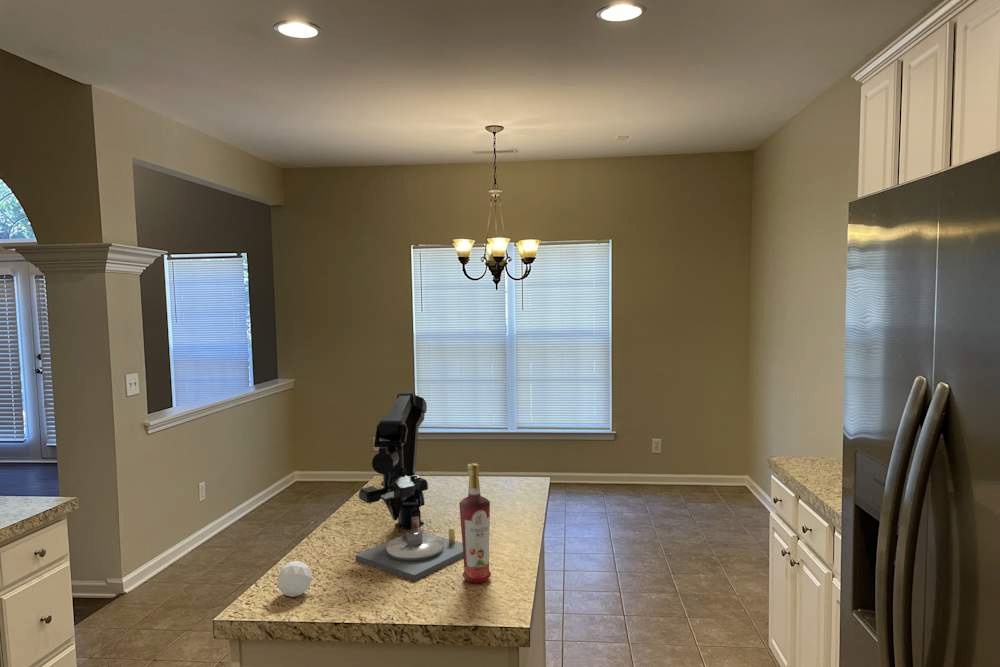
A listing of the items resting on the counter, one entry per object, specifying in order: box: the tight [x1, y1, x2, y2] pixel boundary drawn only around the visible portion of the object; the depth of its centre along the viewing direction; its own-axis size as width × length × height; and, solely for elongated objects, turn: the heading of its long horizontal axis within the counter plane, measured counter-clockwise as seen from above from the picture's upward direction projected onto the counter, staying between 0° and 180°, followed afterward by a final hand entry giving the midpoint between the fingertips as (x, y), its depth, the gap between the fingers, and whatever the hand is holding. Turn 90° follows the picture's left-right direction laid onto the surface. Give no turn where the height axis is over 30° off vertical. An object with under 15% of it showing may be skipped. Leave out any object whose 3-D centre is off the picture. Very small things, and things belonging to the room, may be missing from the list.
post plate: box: [355, 526, 464, 582], centre depth 171 cm, size 22×22×6 cm
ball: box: [276, 560, 313, 598], centre depth 150 cm, size 8×8×8 cm
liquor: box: [459, 462, 492, 585], centre depth 154 cm, size 7×7×28 cm
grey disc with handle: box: [386, 517, 444, 561], centre depth 173 cm, size 20×15×5 cm
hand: (395, 519), depth 179 cm, fingers closed
